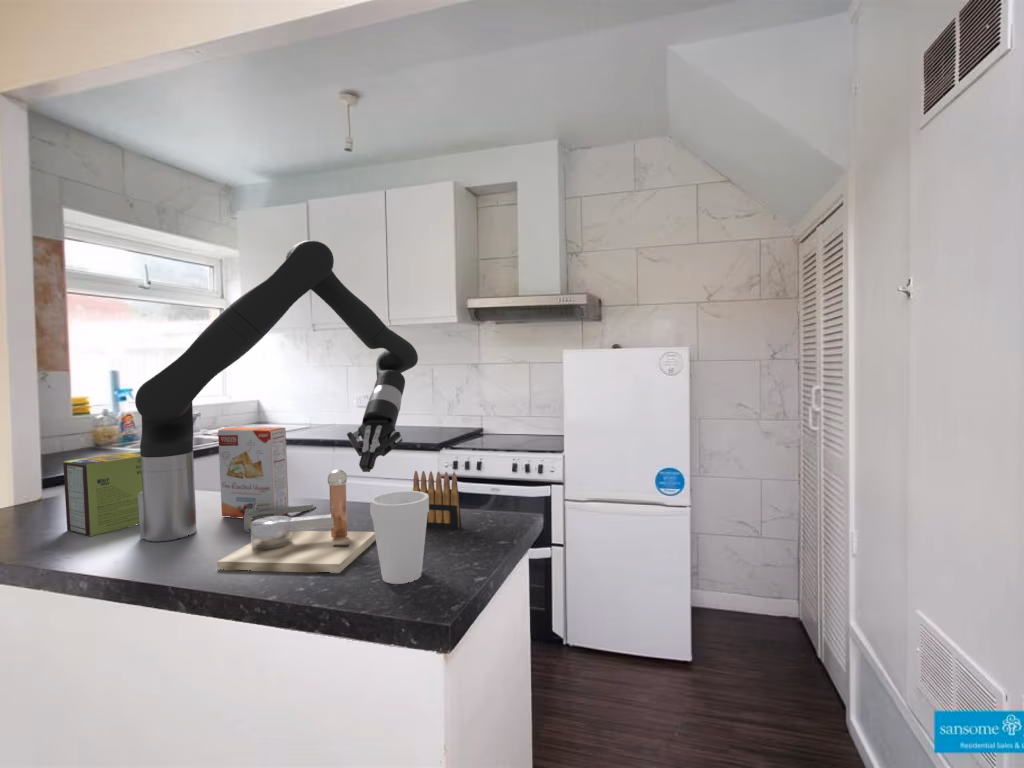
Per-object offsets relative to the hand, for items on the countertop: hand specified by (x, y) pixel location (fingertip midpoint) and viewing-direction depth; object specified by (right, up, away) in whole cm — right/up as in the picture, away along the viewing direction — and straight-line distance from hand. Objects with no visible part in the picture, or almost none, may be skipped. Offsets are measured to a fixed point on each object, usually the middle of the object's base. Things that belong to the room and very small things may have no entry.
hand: (365, 469), depth 114 cm
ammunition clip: (+15, -12, -1) cm, 20 cm away
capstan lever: (-8, -11, -13) cm, 19 cm away
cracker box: (-29, -13, +10) cm, 33 cm away
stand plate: (-7, -13, -15) cm, 22 cm away
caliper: (-21, -13, +7) cm, 26 cm away
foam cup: (+14, -13, -27) cm, 33 cm away
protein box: (-58, -14, +6) cm, 60 cm away
